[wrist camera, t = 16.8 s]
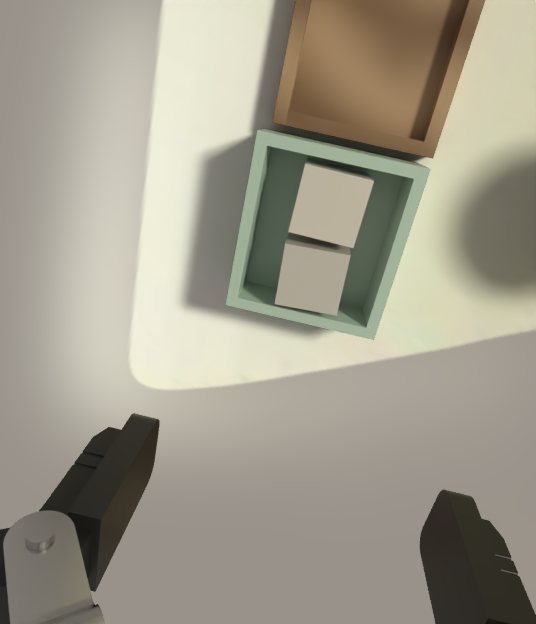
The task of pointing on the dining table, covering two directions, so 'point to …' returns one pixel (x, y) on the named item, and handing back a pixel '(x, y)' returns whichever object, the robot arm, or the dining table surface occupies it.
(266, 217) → the bin
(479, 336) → the dining table surface
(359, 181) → the stone
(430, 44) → the tray
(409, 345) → the dining table surface
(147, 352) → the dining table surface
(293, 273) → the stone
